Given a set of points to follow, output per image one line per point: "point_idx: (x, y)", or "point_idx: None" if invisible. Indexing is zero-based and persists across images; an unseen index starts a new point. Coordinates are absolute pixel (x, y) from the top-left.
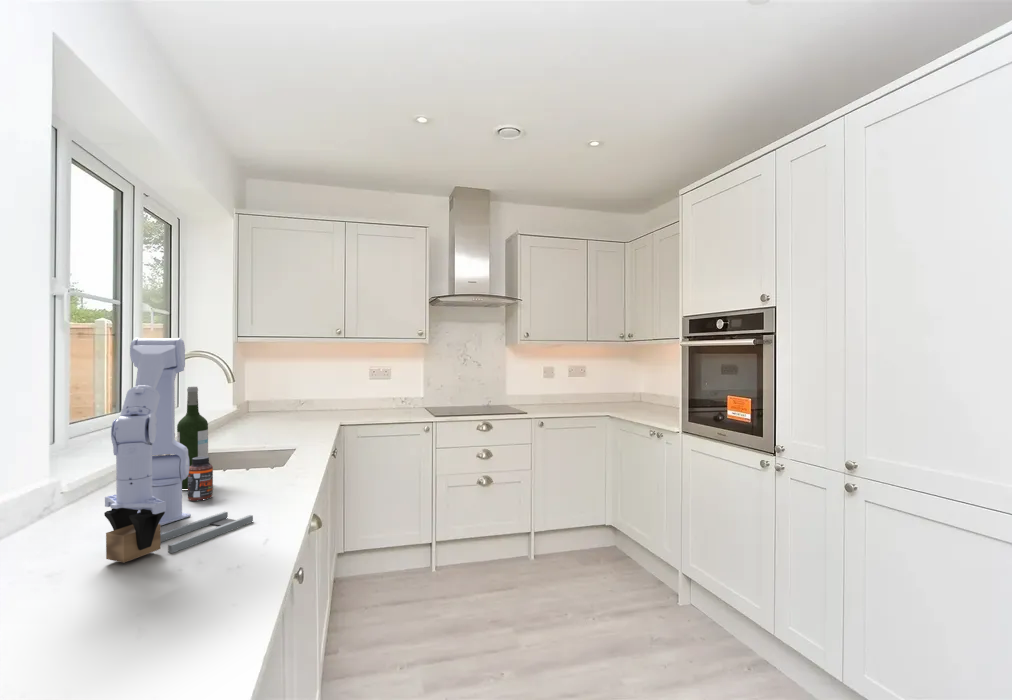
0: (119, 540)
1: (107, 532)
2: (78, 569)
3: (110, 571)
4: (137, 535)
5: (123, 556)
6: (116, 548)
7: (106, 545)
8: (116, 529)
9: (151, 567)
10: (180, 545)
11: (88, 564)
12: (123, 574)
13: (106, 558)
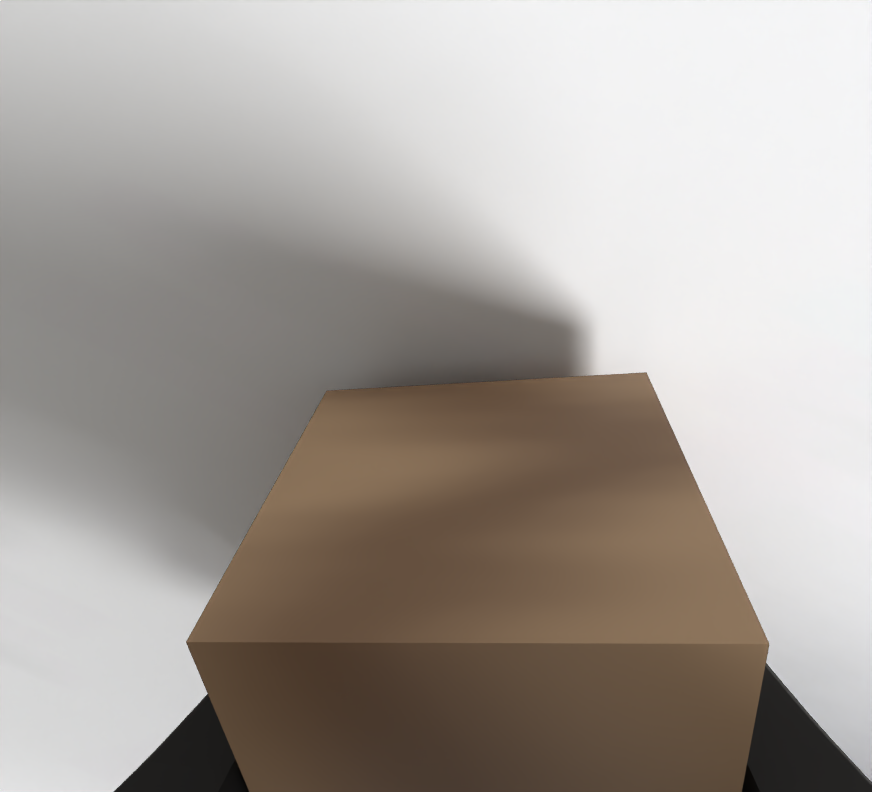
0: (344, 564)
1: (762, 663)
2: (813, 100)
3: (351, 250)
4: (213, 731)
5: (316, 426)
6: (441, 471)
7: (678, 470)
8: (769, 789)
9: (121, 462)
10: None
11: (843, 252)
12: (141, 266)
13: (645, 377)
